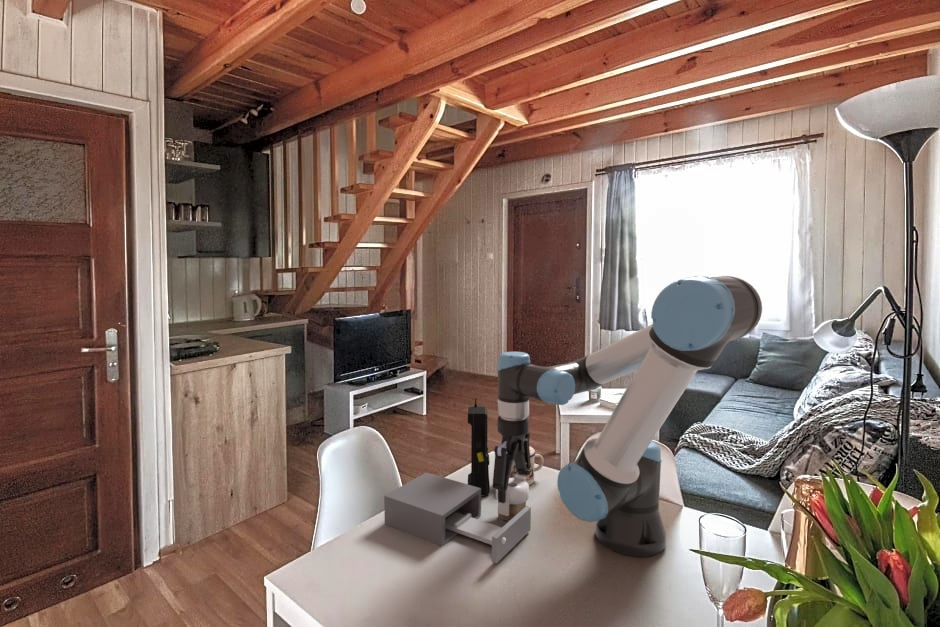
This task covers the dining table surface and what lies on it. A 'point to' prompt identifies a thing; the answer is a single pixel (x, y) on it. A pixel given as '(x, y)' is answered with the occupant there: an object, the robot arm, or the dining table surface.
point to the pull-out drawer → (492, 531)
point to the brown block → (512, 511)
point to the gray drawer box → (430, 506)
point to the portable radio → (479, 449)
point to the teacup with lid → (530, 477)
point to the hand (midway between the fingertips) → (512, 506)
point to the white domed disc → (517, 491)
